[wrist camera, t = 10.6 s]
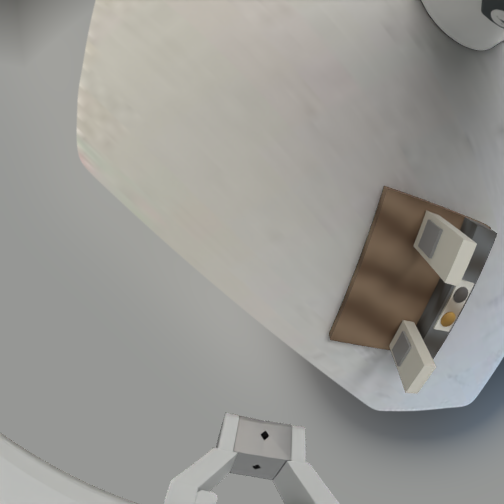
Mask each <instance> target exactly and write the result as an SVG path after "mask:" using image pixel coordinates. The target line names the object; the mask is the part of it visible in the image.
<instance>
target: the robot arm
mask: <svg viewBox="0 0 504 504" xmlns="http://www.w3.org/2000/svg"><path fill="white" fill-rule="evenodd" d="M421 1H422V3H423V5H424V7H425V8H426V10H427V12H428V13H429V15H430V16H431V18H432V19H433V20H434V22H435V23H436V24H437V25H438V26H439V27H440V28H441V29H442V30H443V31H444V32H445V33H446V34H447V35H448V36H449V37H451V38H452V39H453V40H455V41H456V42H458V43H460V44H461V45H463V46H466V47H468V48H471V49H475V50H488V49H490V48H492V47H494V46H495V45H496V44H498V43H499V42H501V41H504V0H421ZM229 473H233V474H239V475H246V476H252V477H258V478H263V479H269V480H273V483H274V485H275V487H276V489H277V490H278V492H279V494H280V496H281V498H282V500H283V502H284V504H339V502H338V501H337V500H336V499H335V497H334V496H333V495H332V493H331V492H330V491H329V489H328V488H327V486H326V485H325V484H324V482H323V481H322V480H321V478H320V477H319V476H318V474H317V473H316V471H315V470H314V469H313V467H312V466H311V464H309V463H306V430H305V427H303V426H294V425H290V424H283V423H277V422H270V421H262V420H257V419H253V418H248V417H244V416H239V415H235V414H231V413H225V416H224V419H223V423H222V426H221V430H220V434H219V437H218V442H217V446H216V448H212V449H211V450H210V451H209V452H207V453H206V454H205V455H204V456H203V457H201V458H200V459H199V460H197V461H196V462H195V463H194V464H193V465H191V466H190V467H189V468H187V469H186V470H185V471H183V472H182V473H181V474H179V475H178V476H177V477H175V478H174V479H173V480H172V481H171V482H170V485H169V488H168V491H167V495H166V498H165V501H164V504H216V503H217V498H218V496H217V495H216V494H215V493H213V492H210V491H211V490H212V489H213V488H214V487H215V486H217V485H218V484H219V483H220V481H222V480H223V479H224V478H225V477H226V476H227V475H228V474H229ZM0 504H138V503H135V502H132V501H129V500H127V499H124V498H121V497H119V496H116V495H114V494H111V493H109V492H106V491H104V490H102V489H99V488H97V487H95V486H93V485H90V484H88V483H86V482H84V481H82V480H80V479H78V478H75V477H73V476H71V475H70V474H68V473H66V472H64V471H62V470H60V469H58V468H56V467H54V466H53V465H51V464H49V463H47V462H46V461H44V460H42V459H40V458H38V457H37V456H35V455H34V454H32V453H30V452H29V451H27V450H26V449H24V448H22V447H21V446H19V445H18V444H16V443H15V442H13V441H12V440H10V439H9V438H7V437H6V436H4V435H3V434H2V433H0Z"/></svg>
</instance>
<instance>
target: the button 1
mask: <svg viewBox="0 0 504 504" xmlns="http://www.w3.org/2000/svg"><path fill="white" fill-rule="evenodd" d="M389 347H390V350H391V353H392V355H393V358H394V361H395V364H396V367H397V369H398V372H399V375H400V378H401V381H402V384H403V387H404V390H405V393H416V394H417V393H418V392H419V391H420V389H421V388H422V386H423V385H424V384H425V382H426V381H427V379H428V378H429V377H430V375H431V374H432V372H433V371H434V369H435V368H436V365H435V363H434V361H433V359H432V357H431V355H430V353H429V351H428V349H427V347H426V345H425V343H424V341H423V339H422V337H421V335H420V333H419V331H418V329H417V327H416V325H415V323H414V322H411V321H406V320H403V321H402V323H401V325H400V327H399V329H398V330H397V332H396V334H395V336H394V338H393V340H392V341H391V343H390V345H389Z"/></svg>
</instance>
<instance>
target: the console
mask: <svg viewBox="0 0 504 504" xmlns="http://www.w3.org/2000/svg"><path fill="white" fill-rule="evenodd" d="M426 210H427V211H429V212H432V213H435V214H438V215H439V216H441V217H442V218H444V219H445V220H446V221H448V222H449V223H450V224H452V225H453V226H455V227H456V228H457V229H459V230H460V231H461V232H462V233H464V234H465V235H466V236H468V237H469V238H470V239H472V240H473V241H474V242H475V243H477V245H476V248H475V250H474V253H473V255H472V257H471V260H470V262H469V264H468V267H467V269H466V271H465V273H464V275H463V278H462V280H461V282H460V284H459V286H455V285H451V284H447V283H445V282H444V281H443V280H442V279H441V278H440V276H439V275H438V274H437V273H436V272H435V270H434V269H433V268H432V267H431V266H430V265H429V263H428V262H427V261H426V260H425V259H424V258H423V257H422V255H421V254H420V253H419V252H418V251H417V250H416V249H415V248H414V246H413V245H414V243H415V240H416V238H417V235H418V232H419V230H420V227H421V224H422V222H423V219H424V216H425V213H426ZM496 235H497V233H496V232H494V231H493V230H491V228H490V227H489V226H487V225H486V224H484V223H481V222H479V221H477V220H474V219H472V218H469V217H467V216H465V215H462V214H460V213H457V212H455V211H452V210H450V209H447V208H445V207H442V206H439V205H437V204H434V203H431V202H429V201H426V200H423V199H421V198H418V197H415V196H412V195H409V194H406V193H404V192H401V191H398V190H395V189H392V188H389V187H386V186H384V188H383V191H382V195H381V198H380V201H379V204H378V207H377V210H376V213H375V216H374V219H373V222H372V225H371V228H370V231H369V234H368V237H367V239H366V242H365V245H364V248H363V251H362V253H361V256H360V259H359V261H358V264H357V267H356V269H355V272H354V275H353V277H352V280H351V282H350V285H349V287H348V290H347V292H346V295H345V297H344V300H343V302H342V305H341V307H340V309H339V312H338V314H337V316H336V319H335V321H334V323H333V326H332V328H331V330H330V333H329V337H330V340H334V341H339V342H345V343H350V344H356V345H362V346H368V347H374V348H380V349H386V350H390V347H389V345H390V343H391V341H392V340H393V338H394V336H395V334H396V332H397V330H398V329H399V327H400V325H401V323H402V321H403V320H406V321H411V322H414V323H415V325H416V327H417V329H418V331H419V333H420V335H421V337H422V339H423V341H424V343H425V345H426V347H427V349H428V351H429V353H430V355H431V357H432V359H434V357H435V356H436V354H437V352H438V351H439V349H440V348H441V346H442V344H443V343H444V341H445V339H446V338H447V336H448V334H449V333H450V331H451V329H452V328H453V326H454V324H455V322H456V321H457V319H458V317H459V315H460V313H461V311H462V310H463V308H464V306H465V304H466V302H467V300H468V298H469V296H470V294H471V292H472V290H473V288H474V286H475V284H476V282H477V280H478V278H479V276H480V273H481V271H482V269H483V267H484V264H485V262H486V260H487V258H488V255H489V253H490V250H491V248H492V246H493V243H494V241H495V238H496Z"/></svg>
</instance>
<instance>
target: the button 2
mask: <svg viewBox="0 0 504 504" xmlns="http://www.w3.org/2000/svg"><path fill="white" fill-rule="evenodd" d="M476 245H477V243H475V242H474V241H473V240H472V239H470V238H469V237H468V236H466V235H465V234H464V233H462V232H461V231H460V230H459V229H457V228H456V227H455V226H453V225H452V224H450V223H449V222H448V221H446V220H445V219H444V218H442V217H441V216H439V215H438V214H435V213H432V212H429V211H427V210H426V213H425V216H424V219H423V222H422V224H421V227H420V230H419V232H418V235H417V238H416V240H415V243H414V245H413V246H414V248H415V249H416V250H417V251H418V252H419V253H420V254H421V255H422V257H423V258H424V259H425V260H426V261H427V262H428V263H429V265H430V266H431V267H432V268H433V269H434V270H435V272H436V273H437V274H438V275H439V276H440V278H441V279H442V280H443V281H444V282H445V283H447V284H451V285H455V286H459V284H460V282H461V280H462V278H463V275H464V273H465V271H466V269H467V267H468V264H469V262H470V260H471V257H472V255H473V253H474V250H475V248H476Z"/></svg>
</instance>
